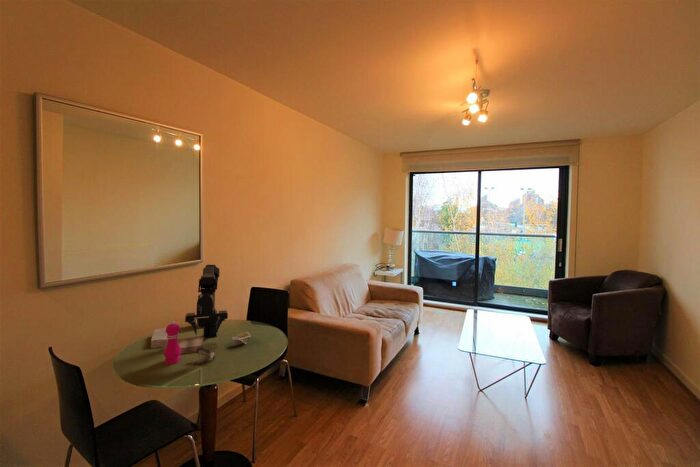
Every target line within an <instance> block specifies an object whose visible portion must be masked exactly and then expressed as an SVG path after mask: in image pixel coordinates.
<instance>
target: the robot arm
mask: <svg viewBox="0 0 700 467" xmlns="http://www.w3.org/2000/svg"><path fill="white" fill-rule="evenodd" d="M220 271H221V270H220V267H217V264H206V265H205V267H204V268H202V275H201V276H200V278H199V280H198V286H197V288H198V290H197V293H200V295H201V297H200V299H199V304H198V311H201V314H200V315H196V313H195V312H188V313H187V312H186V314H185V318H184V322H185V323H187V324H189V325H191V327H192V329H193V331H194V334H195V335H198V334H197V333H198V331H197V322H196V321H197V319H200V318H203V319H202V326H203V327H202V328H203V334H202V337H203V339H208V338H217V336H218V334H217V333H218V331H219V329H220V327H221V325H222V323H223V322H224V321H225V320H227V319H228V316H229V315H228V314H229V313H228V311H227V310H226V309H225V310H219V311H218V310H217V309H216V303H215V302H216V291H217V290H218V283H219V282H218V281H219V278H220V275H221V274H220Z"/></svg>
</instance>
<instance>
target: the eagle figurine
mask: <svg viewBox="0 0 700 467" xmlns="http://www.w3.org/2000/svg"><path fill="white" fill-rule="evenodd" d="M195 353H196V354H198V355H201V356H204V357H200V358H199V359H197V360H196V361H194V364H195V365H200V364H201V363H203V362H208V360H209V359H211V360H213V361H215V358H216V356H215V355H216V354H217V353H216V348H214V350H213V351H210V350H209V349H205V347H203V348H198V349H197V350H196V352H195Z"/></svg>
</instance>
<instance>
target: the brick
mask: <svg viewBox="0 0 700 467" xmlns="http://www.w3.org/2000/svg"><path fill="white" fill-rule="evenodd" d="M150 340H151V341H150V349H156V348H157V349H158V348H166V346H167V343H168V338H167V333H166V327H162V328H157V329H154V330H153V334H152V337H151V339H150Z"/></svg>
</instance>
